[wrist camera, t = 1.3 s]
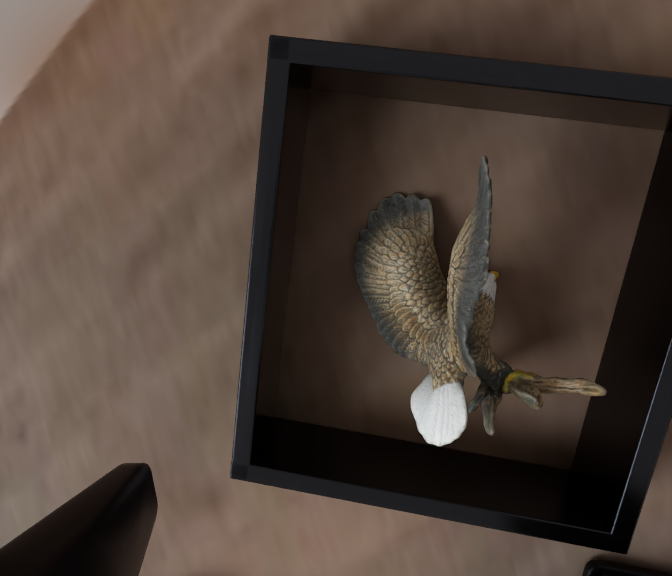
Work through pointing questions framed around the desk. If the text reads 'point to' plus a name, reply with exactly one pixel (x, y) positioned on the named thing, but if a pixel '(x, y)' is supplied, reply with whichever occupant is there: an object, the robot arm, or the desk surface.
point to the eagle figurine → (444, 313)
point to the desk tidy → (437, 462)
